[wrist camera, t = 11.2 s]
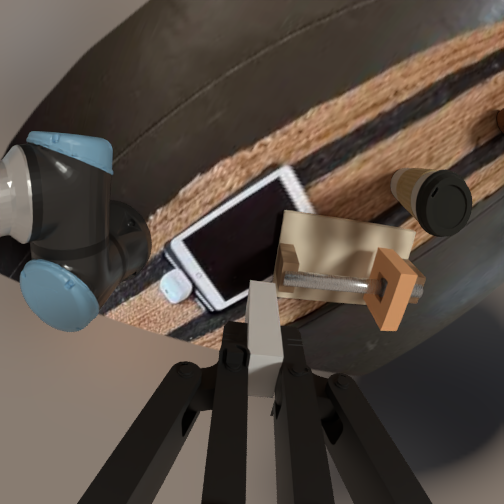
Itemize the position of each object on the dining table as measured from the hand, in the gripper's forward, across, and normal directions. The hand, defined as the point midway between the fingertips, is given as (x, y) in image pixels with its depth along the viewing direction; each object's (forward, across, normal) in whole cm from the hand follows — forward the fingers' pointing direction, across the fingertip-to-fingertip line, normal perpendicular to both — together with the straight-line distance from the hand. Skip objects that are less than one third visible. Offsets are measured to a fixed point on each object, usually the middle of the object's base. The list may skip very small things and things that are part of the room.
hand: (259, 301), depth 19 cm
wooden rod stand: (+34, +18, -11) cm, 40 cm away
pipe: (+27, +18, -11) cm, 34 cm away
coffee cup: (+35, +26, +5) cm, 44 cm away
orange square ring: (+30, +23, -11) cm, 40 cm away
